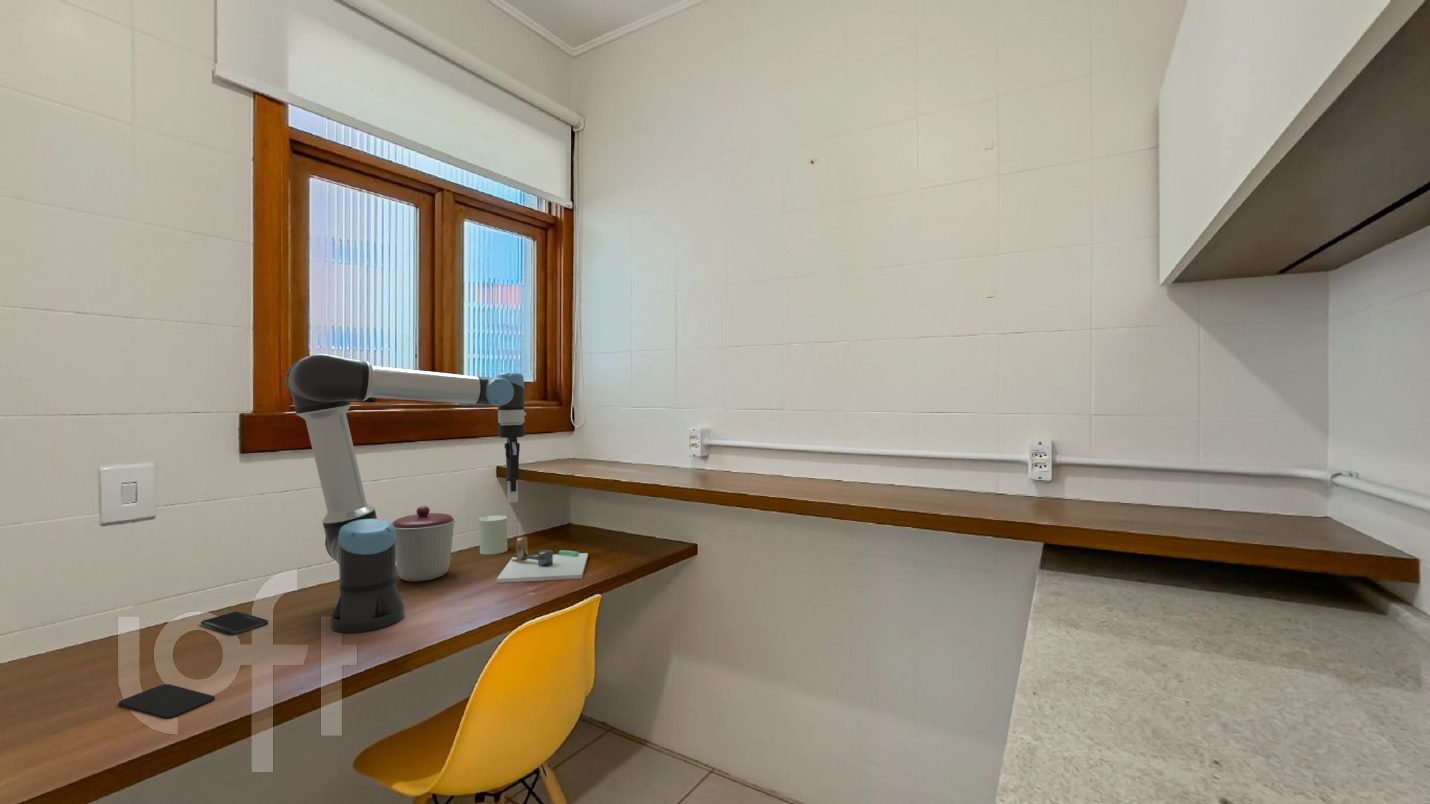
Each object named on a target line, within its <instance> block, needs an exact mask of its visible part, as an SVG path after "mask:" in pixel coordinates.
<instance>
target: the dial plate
mask: <svg viewBox="0 0 1430 804" xmlns="http://www.w3.org/2000/svg"><path fill="white" fill-rule="evenodd" d="M534 556H538V554H537V555H536V554H535V555H534ZM588 556H589V553H587V552H584V553H583V552H581V553H580V552H579V551H576V550H566V549H565V550H564V549H562V550H561V549H560V550H559V551H558V554H553V564H552V565H549V566H539V565H538V560H534V559H527V560H525V561H517V557H513V556H512V557H511V558H510V560H509V562H508V563H507V564H506V565H505V567H504V568H503V569H502V571H501V572H500V574H499V575H498V576H497V578H496V584H503V583H523V582H541V581H558V580H560V581H561V580H577V579H578V580H579V579H580V580H582V578H583V576H584V572H585V568H586V565H587V560H588Z"/></svg>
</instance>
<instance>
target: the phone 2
mask: <svg viewBox="0 0 1430 804" xmlns="http://www.w3.org/2000/svg"><path fill="white" fill-rule="evenodd" d="M268 625H269V620H268V619H265V618H263V617H257V616H255V615H252V614H248V613H244V612H242V611H234V612H233V611H231V612H229V613H226V614H225V613H224V614H222V615H218V616H215V617H211V618H207V619H204V620H202V621H200V626H201V627H204V628H208V629H210V630H213V631H216V632H219V633H222V634H224V635H227V636H236V635H240V634H243V633H245V632H249V631H253V630H256V629H258V628H262V627H266V626H268Z"/></svg>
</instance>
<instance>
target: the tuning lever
mask: <svg viewBox="0 0 1430 804" xmlns="http://www.w3.org/2000/svg"><path fill="white" fill-rule="evenodd" d="M553 553H554V551H553V550H551V549H542V550H540V551H538V552H537V555H538V556H534V555H533V554H528V537H526V536H520V537H517V538H516V553H514V554H512V557H517V561H525V560H527V559H534V560H538V565H539V566H549V565H552V564H553V555H554V554H553Z"/></svg>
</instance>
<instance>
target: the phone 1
mask: <svg viewBox="0 0 1430 804" xmlns="http://www.w3.org/2000/svg"><path fill="white" fill-rule="evenodd" d="M215 698H216V697H215V695H211V694H207V693H205V692H200V691H196V690H193V689H188V688H185V687H180V686H177V685H174V684H169V683H166V684H165V683H163V684H160V685H158V686H154V687H151V688H150V689H147V690H144V691H142V692H141V691H140V692H139V693H136V694H134V695H130V696H128V697H126V698H123V699H121V700H120V701H119V702H118V707H121V708H124V709H126V710H132V711H133V712H134V711H135V712H137V713H142V714H146V715H148V716H152V717H156V718H160V719H163V720H171V719H174V718H178V717H180V716H182V715H185V714H186V713H188V712H191V711H194V710H196V709H198V708H201V707H203V706H205V705H207V704H210V703H212V702H214V701H215V700H216V699H215Z"/></svg>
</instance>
